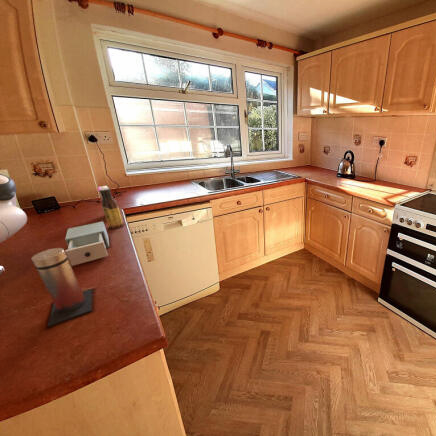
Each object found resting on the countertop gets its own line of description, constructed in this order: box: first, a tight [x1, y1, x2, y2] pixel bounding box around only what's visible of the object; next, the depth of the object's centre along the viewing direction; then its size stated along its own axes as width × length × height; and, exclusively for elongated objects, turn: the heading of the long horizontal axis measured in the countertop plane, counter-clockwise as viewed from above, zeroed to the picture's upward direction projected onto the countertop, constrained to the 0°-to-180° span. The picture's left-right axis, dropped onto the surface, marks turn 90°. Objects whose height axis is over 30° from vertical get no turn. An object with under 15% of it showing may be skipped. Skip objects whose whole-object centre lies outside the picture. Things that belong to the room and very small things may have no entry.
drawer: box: [64, 233, 109, 267], centre depth 95 cm, size 14×11×6 cm
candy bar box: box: [96, 185, 109, 202], centre depth 136 cm, size 11×5×16 cm, turn 38°
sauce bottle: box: [100, 187, 124, 230], centre depth 120 cm, size 6×6×20 cm
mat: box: [47, 288, 93, 328], centre depth 70 cm, size 9×12×1 cm
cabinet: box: [64, 220, 110, 249], centre depth 103 cm, size 13×12×8 cm
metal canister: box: [31, 247, 86, 313], centre depth 67 cm, size 6×6×17 cm
